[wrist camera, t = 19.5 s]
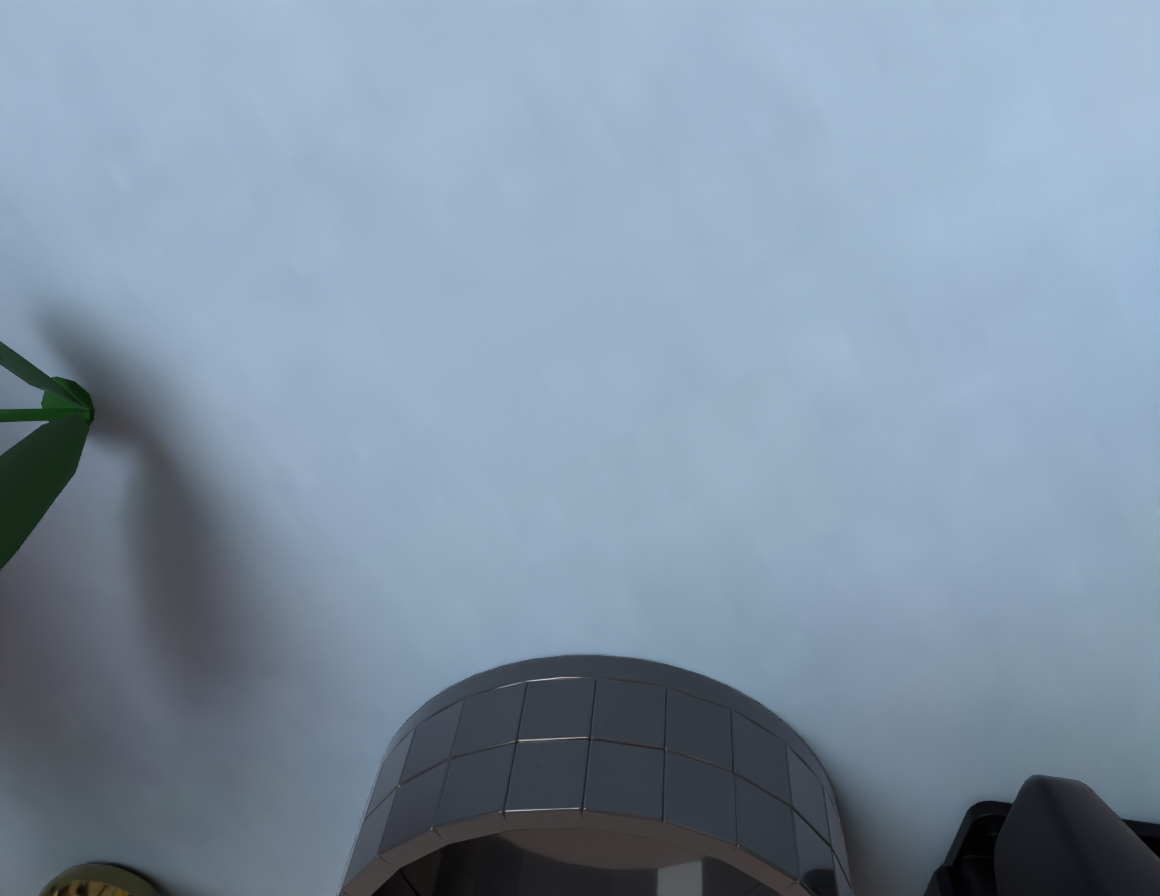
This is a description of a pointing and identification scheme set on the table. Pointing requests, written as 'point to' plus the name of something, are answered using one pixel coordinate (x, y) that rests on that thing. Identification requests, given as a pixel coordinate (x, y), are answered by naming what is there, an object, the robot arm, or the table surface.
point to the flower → (39, 451)
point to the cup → (97, 882)
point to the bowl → (597, 791)
